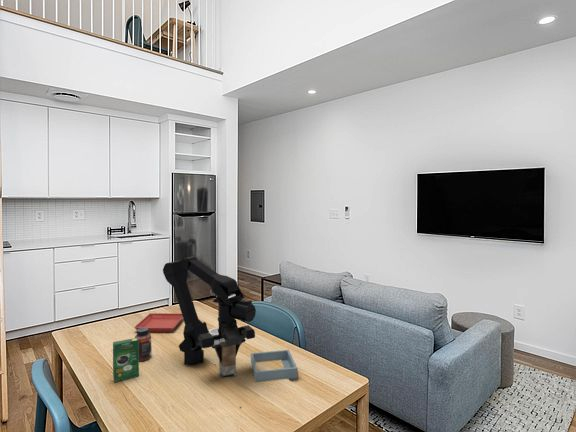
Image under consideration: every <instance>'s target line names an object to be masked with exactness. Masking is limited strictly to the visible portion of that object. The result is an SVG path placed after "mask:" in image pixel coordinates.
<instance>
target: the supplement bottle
mask: <svg viewBox="0 0 576 432" xmlns="http://www.w3.org/2000/svg"><path fill="white" fill-rule="evenodd" d="M134 338H137V339H138V340H139V362H145V361H148V360H149V359H151V358H152V356H153V355H152V351H153V350H152V335H151V332H148V328H140V329H138V330H136V335H134Z"/></svg>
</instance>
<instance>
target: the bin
mask: <svg viewBox="0 0 576 432" xmlns="http://www.w3.org/2000/svg"><path fill="white" fill-rule="evenodd" d="M278 360H281V363H282V365H283V368H273V369H268V370H267V369H265V370H264V369H263V370H258V369H257V365H256V363H257V362H267V361H269V362H270V361H278ZM250 363H251V364H250V365H251V367H252V368H251V369H252V372H253V377H254V382H262V381H272V380H280V379H288V380H289V381H297V380H298V371H299V370H298V366H297V364H296V362H295V359H294V358H293V356H292V354H291V350H289V349H282V350H273V351H272V350H271V351H261V352H250Z"/></svg>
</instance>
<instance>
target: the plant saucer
mask: <svg viewBox="0 0 576 432" xmlns="http://www.w3.org/2000/svg"><path fill="white" fill-rule="evenodd" d="M182 320H184V319H183V316H182V313H168V312H166V313H161V312H160V313H158V312H156V313H152V312H151V313H148V315H146V316H144V318H143V319H142V320H140V321H139V322H138V323H137V324H136V325H135V326H134V329H135V330H136V331H137V330H138V329H140V328H148V333H172V332H173V331H174V330H175V328H176V327H177V326H178V325H179V323H181V321H182Z"/></svg>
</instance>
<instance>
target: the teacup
mask: <svg viewBox="0 0 576 432" xmlns="http://www.w3.org/2000/svg"><path fill="white" fill-rule="evenodd" d="M218 329H219V326H218V327H213V328H211V329H208V330H209V333H210V334H211V335H212V336H214V335H219V333H218ZM223 341H225V339H224V340H220V341H219V342H223Z"/></svg>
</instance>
